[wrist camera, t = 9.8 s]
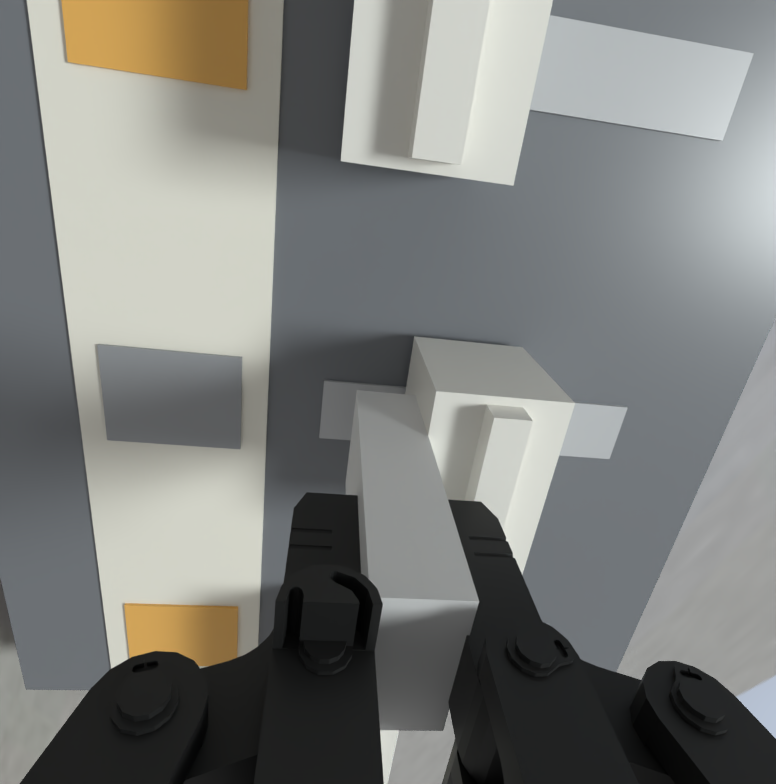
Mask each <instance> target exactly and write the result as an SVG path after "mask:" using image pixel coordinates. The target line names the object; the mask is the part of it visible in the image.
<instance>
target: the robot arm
mask: <svg viewBox="0 0 776 784" xmlns="http://www.w3.org/2000/svg"><path fill="white" fill-rule="evenodd" d="M449 708H450V713H451V719H452V724H453V729H454V734H455V742H454V745H453V748H452V752H451V755H450V759H449V762H448V765H447V769H446V772H445V775H444V779H443V782H442V784H776V739H775V738H774V737H773V736H772V735H771V733H769V731H768V730H767V729H766V728H765V727H764V726H763V725H762V724H761V723H760V722H759V721H758V720H757V719H756V718H755V717H754V716H753V715H752V714H751V713H750V711H749V710H748V709H747V708H746V707H745V706H744V705H743V704H742V703H741V702H740V701H739V700H738V699H737V698H736V697H735V696H734V695H733V694H732V693H731V692H730V691H729V690H728V689H726V688H725V687H724V686H723V685H722V684H721V683H719V682H718V681H717V680H716V679H715V678H713V677H711V676H709V675H708V674H706V673H704V672H702V671H701V670H699V669H697V668H695V667H693V666H690V665H686V664H683V663H680V662H677V661H658V662H657V663H655V664H653V665H652V666H650V667H648V668H647V670H646V672H645V674H644V676H643V678H642V680H639V679H636V678H632V677H629V676H626V675H623V674H620V673H617V672H613V671H610V670H607V669H604V668H601V667H598V666H595V665H593V664H590V663H588V662H586V661H583V660H581V659H580V657H579V655H578V654H577V652H576V651H575V649H574V648H573V646H572V645H571V644H570V642H569V641H568V639H566V638H565V637H564V636H563V635H562V634H561V633H559V632H558V631H557V630H556V629H555V628H553V627H552V626H550V625H548V624H546V623H544V622H542V620H541V618H540V615H539V613H538V611H537V608H536V606H535V604H534V601H533V599H532V597H531V594H530V592H529V590H528V587H527V585H526V583H525V580H524V578H523V576H522V573H521V571H520V569H519V566H518V564H517V562H516V559H515V558H513V552H512V550H511V548H510V545H509V543H508V542H507V541H506V536H505V534H504V531H503V529H502V527H501V524H500V522H499V520H498V518H497V517H496V516H495V515H494V514H493V513H492V512H491V511H490V510H489V509H488V508H487V507H486V506H485V505H484V504H483V503H482V502H479V501H463V500H448V498H447V495H446V492H445V488H444V485H443V482H442V479H441V475H440V472H439V469H438V466H437V462H436V459H435V456H434V453H433V449H432V446H431V443H430V440H429V436H428V435H427V431H426V428H425V425H424V422H423V418H422V415H421V412H420V409H419V405H418V402H417V399H416V396H415V395H407V394H396V393H385V392H374V391H363V390H357V392H356V401H355V409H354V417H353V425H352V433H351V442H350V450H349V458H348V466H347V474H346V495H343V494H327V493H312V492H306V494H305V495H304V496H303V497H302V499H301V500H300V501H299V502H298V503H297V505H296V506H295V507H294V510H293V517H292V524H291V532H290V539H289V547H288V554H287V561H286V568H285V576H284V583H283V584H282V586H281V588H280V591H279V593H278V596H277V598H276V600H275V615H274V629H273V630H272V632H271V633H270V635H269V636H268V637H267V638H266V639H265V640H264V641H263V642H262V643H261V644H260V645H259V646H258V647H256V648H255V649H253V650H252V651H250V652H248V653H247V654H245V655H243V656H240V657H237V658H235V659H232V660H230V661H226V662H222V663H219V664H215V665H212V666H208V667H204V668H201V669H200V667H199V666H198V665H197V664H196V662H195V661H194V660H192V659H190V658H188V657H186V656H184V655H182V654H179V653H177V652H164V651H153V652H149V653H145V654H141V655H138V656H134V657H131V658H129V659H127V660H126V661H124V662H122V663H120V664H119V665H117V666H115V667H113V668H112V669H110V670H109V671H108V672H107V673H106V674H105V675H104V676H103V677H102V678H101V679H100V680H99V681H98V682H97V683H96V684H95V685H94V686H93V687H92V688H91V689H90V690H89V692H88V693H87V694H86V696H85V697H84V698H83V700H82V701H81V702H80V704H79V705H78V706H77V708H76V709H75V710H74V712H73V713H72V714H71V716H70V717H69V718H68V720H67V721H66V722H65V724H64V725H63V726H62V728H61V729H60V730H59V732H58V733H57V734H56V736H55V737H54V738H53V740H52V741H51V742H50V744H49V745H48V746H47V748H46V749H45V751H44V752H43V753H42V755H41V756H40V757H39V759H38V760H37V761H36V763H35V764H34V765H33V767H32V768H31V769H30V771H29V772H28V773H27V775H26V776H25V777H24V779H23V780H22V781H21V783H20V784H384V780H383V765H382V751H381V736H380V730H417V731H443V729H444V726H445V722H446V718H447V715H448V711H449Z"/></svg>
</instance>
